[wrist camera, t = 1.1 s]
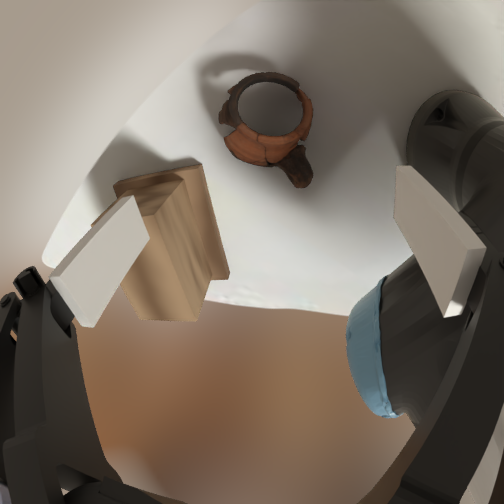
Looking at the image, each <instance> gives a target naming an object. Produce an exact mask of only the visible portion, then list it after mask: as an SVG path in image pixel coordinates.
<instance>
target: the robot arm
mask: <svg viewBox="0 0 504 504" xmlns="http://www.w3.org/2000/svg"><path fill="white" fill-rule="evenodd" d="M407 161H408V166H396V189H395V205H394V217H393V218H394V219H395V221H396V223H397V225H398V226H399V228H400V230H401V232H402V233H403V235H404V237H405V239H406V240H407V242H408V244H409V246H410V248H411V250H412V252H413V253H414V254H413V255H412V256H411V257H410V258H408V259H407V260H406V261H405V262H404V263H403V264H401V265H400V266H399V267H398V268H397V269H396V270H394V271H393V272H392V273H391V274H389V275H387V276H385V277H383V278H382V279H381V280H380V281H379V283H378V285H377V286H376V287H375V288H374V289H372V290H371V291H370V292H369V293H368V294H367V295H365V296H364V297H363V298H362V299H361V300H360V301H358V302H357V304H356V305H355V306H354V308H353V309H352V311H351V313H350V315H349V319H348V323H347V328H346V340H347V347H346V350H347V357H348V362H349V367H350V371H351V374H352V377H353V380H354V383H355V385H356V387H357V389H358V392H359V393H360V396H361V397H362V399H363V401H364V402H365V404H366V405H367V406H368V408H369V409H370V410H371V411H372V412H374V413H375V414H377V415H378V416H382V417H385V418H397V417H398V416H400V415H402V414H403V413H406V414H407V415H408V416H409V418H410V420H411V421H412V423H413V424H414V426H415V428H416V429H415V431H414V433H413V434H412V436H411V437H410V439H409V440H408V442H407V443H406V445H405V447H404V448H403V449H402V451H401V452H400V454H399V455H398V456H397V458H396V459H395V461H394V462H393V464H392V465H391V466H390V467H389V469H388V470H387V471H386V473H385V474H384V475H383V477H382V478H381V479H380V481H379V482H378V483H377V484H376V485H375V487H374V488H373V489H372V490H371V491H370V492H369V493H368V494H367V495H366V496H365V497H364V498H363V499H361V500H360V501H359V502H358V503H357V504H459V503H460V500H461V498H462V496H463V494H464V492H465V490H466V489H468V491H469V492H470V495H471V497H472V499H473V501H474V503H475V504H504V117H503V116H502V115H501V114H500V113H499V112H498V111H497V110H496V109H495V108H494V107H493V106H492V105H491V104H489V103H488V102H487V101H485V100H484V99H482V98H481V97H479V96H477V95H474V94H471V93H467V92H464V91H459V90H448V91H444V92H441V93H438V94H436V95H434V96H433V97H431V98H430V99H428V100H427V101H426V102H425V103H424V104H423V105H422V106H421V108H420V109H419V110H418V112H417V113H416V115H415V117H414V119H413V121H412V124H411V127H410V130H409V134H408V139H407ZM149 239H150V237H149V235H148V232H147V230H146V227H145V225H144V222H143V219H142V217H141V214H140V212H139V209H138V206H137V204H136V201H135V198H134V195H132V196H127V197H123V198H121V199H120V200H119V201H118V202H117V203H116V204H115V205H114V206H113V207H112V208H111V209H110V210H109V211H108V212H107V213H106V214H105V215H104V216H103V217H102V218H101V219H100V220H99V221H98V222H97V223H96V224H95V225H94V226H93V227H92V228H91V229H90V230H89V231H88V232H87V233H86V234H85V236H84V237H83V238H82V239H81V240H80V241H79V242H78V243H77V244H76V245H75V246H74V248H73V249H72V250H71V251H70V252H69V253H68V254H67V255H66V257H65V258H64V259H63V260H62V261H61V262H60V264H59V265H58V266H57V267H56V268H55V269H54V271H53V272H52V273H51V274H50V276H49V279H50V280H49V281H48V282H47V284H45V283H44V281H43V279H42V278H41V276H40V275H39V273H38V271H37V269H36V268H35V267H34V266H32V267H28V268H26V269H25V270H23V271H22V272H21V273H20V274H19V275H18V276H17V277H16V278H15V280H14V282H13V284H14V286H15V287H16V289H17V290H18V292H19V293H20V295H21V296H22V297H23V299H22V300H20V299H19V298H18V297H17V295H16V293H15V292H11V293H9V294H6V295H5V296H4V297H3V298H2V299H1V301H0V504H187V503H185V502H183V501H179V500H175V499H171V498H167V497H164V496H160V495H157V494H153V493H150V492H147V491H144V490H141V489H138V488H135V487H132V486H129V485H126V484H123V482H122V480H121V478H120V476H119V475H118V473H117V472H116V471H115V470H114V469H113V468H112V467H111V465H109V463H108V462H107V460H106V458H105V456H104V453H103V451H102V447H101V444H100V441H99V438H98V435H97V431H96V428H95V425H94V421H93V418H92V414H91V410H90V406H89V402H88V397H87V393H86V388H85V384H84V379H83V373H82V368H81V362H80V357H79V350H78V343H77V335H76V328H75V326H74V324H73V323H72V322H71V321H72V320H73V318H74V317H75V318H76V319H77V320H78V322H79V323H80V324H81V326H85V327H94V326H95V324H96V323H97V321H98V319H99V318H100V316H101V314H102V313H103V311H104V309H105V308H106V306H107V304H108V302H109V301H110V299H111V298H112V296H113V294H114V293H115V291H116V289H117V287H118V286H119V285H120V283H121V281H122V280H123V278H124V277H125V275H126V274H127V272H128V271H129V269H130V267H131V266H132V264H133V263H134V261H135V260H136V258H137V257H138V255H139V254H140V252H141V251H142V249H143V248H144V247H145V245H146V244H147V242H148V241H149ZM11 330H13V331H14V333H15V334H16V335H17V342H16V341H15V340H14V339H13V337H12V336H11V335H10V332H11ZM61 488H62V489H65V490H68V491H70V492H68V493H67V494H65V495H64V496H63V494H62V491H61Z"/></svg>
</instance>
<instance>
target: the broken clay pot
mask: <svg viewBox="0 0 504 504" xmlns="http://www.w3.org/2000/svg"><path fill="white" fill-rule="evenodd" d="M260 82H274V83H278V84H281V85H283V86H286V87H287V88H289V89H290V90H292V91H293V92H295V93H296V94H297V98H298V99H299V100H300V101H301V102H302V107H303V117H302V120H301V122H300V124H299V125H298V127H297V128H295V130H294V131H292V132H290V133H288V134H285V135H281V136H267V135H263V134H260V133H258V132H256V131H254V130H252V129H251V128H249V127H248V126H247V125H246V124H245V123H244V122H243V121H242V119H241V117H240V115H239V112H238V100H239V97H240V95H241V94H242V92H243V91H244V90H245V89H246V88H248V87H249V86H251V85H253V84H256V83H260ZM299 86H300V85H299V83H298V82H297V81H295V80H294V79H292V78H290V77H287V76H285V75H283V74H280V73H276V72H266V73H264V72H261V73H255V74H252V75H250V76H247V77H245V78H244V79H242V80H241V81H240V82H239V83H238V84H236V85H235V86H233V87H232V88H231V89H230V90H228V93H229V94H230V95H231V96H230V97H229V100H227V101H226V102H225V103H224V104H223V107H222V110H221V111H220V112H219V123H220V124H224V123H225V124H226V125H230V126H232V127H234V128H236V130H235V131H233V132H232V133H231V134H230V135H228V136H227V137H224V141H225V144H226V146H227V147H228V149H229V150H230V152H231V153H232V155H233V156H235V157H236V158H237V159H239V160H242V161H244V162H247V163H250V164H253V165H257V166H263V167H274V166H277V167H279V168H281V169H282V170H283V171H284V172H285V173H286V175H287V176H288V178H289V180H290V181H291V182H292V184H293V185H294V186H295V187H296V188H305V187H307V186H308V185H309V184H310V183H311V181H312V179H313V171H312V168H311V166H310V164H309V162H308V160H307V159H306V156H305V150H306V147H305V146H303V145H297V144H298V141H299V140H302V141H305V140H306V138H307V136H308V133H309V130H310V127H311V122H312V117H313V107H312V103H311V100H310V99H308V97H307V96H306V95H305V93H304V92H303V91H302V90H301V89H300V88H299ZM296 145H297V146H296Z"/></svg>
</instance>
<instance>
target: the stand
mask: <svg viewBox="0 0 504 504" xmlns="http://www.w3.org/2000/svg"><path fill="white" fill-rule="evenodd" d="M113 188H114V190H115V193H116V196H117V198H118V199H117V200H116V201H115V202H114V203H113V204H112V205H111V206H110V207H109V208H108V209H107V210H105V211H104V212H103V213H102V214H101V215H100V216H99V217H98V218H97V219H96V220H95V221H94V222H93V223H92V224H91V227H93V226H94V225H95V224H96V223H97V222H98V221H99V220H100V219H101V218H102V217H103V216H104V215H105V214H106V213H107V212H108V211H109V210H110V209H111V208H112V207H113V206H114V205H115V204H116V203H117V202H118V201H119V200H120V199H121V198H123V197H127V196H132V195H134V198H135V201H136V204H137V206H138V209H139V212H140V214H141V217H142V219H143V222H144V225H145V227H146V230H147V232H148V235H149V237H150V239H149V241H148V242H147V244H146V245H145V247H144V248H143V249H142V251H141V252H140V254H139V255H138V257H137V258H136V260H135V261H134V263H133V264H132V266H131V267H130V269H129V271H128V272H127V274H126V275H125V277H124V278H123V280H122V281H121V283H120V285H121V287H122V289H123V291H124V292H125V294H126V296H127V298H128V299H129V301H130V303H131V305H132V307H133V308H134V310H135V312H136V313H137V315H138V317H139V318H140V319H142V320H164V321H165V320H166V321H197V319H198V316H199V313H200V310H201V307H202V304H203V301H204V298H205V295H206V292H207V289H208V286H209V283H210V281H211V280H227V279H228V278H229V274H230V271H229V267H228V263H227V260H226V256H225V252H224V248H223V245H222V241H221V237H220V233H219V230H218V226H217V222H216V218H215V214H214V210H213V206H212V202H211V198H210V195H209V191H208V187H207V183H206V179H205V174H204V170H203V166H202V164H199V165H193V166H188V167H182V168H177V169H172V170H167V171H162V172H157V173H152V174H148V175H143V176H139V177H134V178H130V179H126V180H122V181H118V182H117V183H116V184H115V185H113Z"/></svg>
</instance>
